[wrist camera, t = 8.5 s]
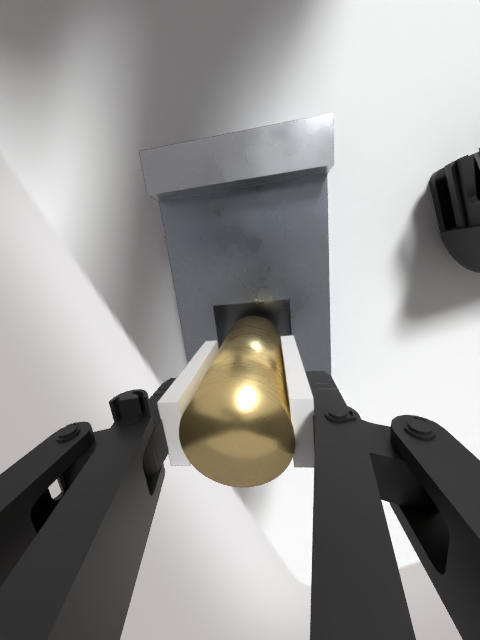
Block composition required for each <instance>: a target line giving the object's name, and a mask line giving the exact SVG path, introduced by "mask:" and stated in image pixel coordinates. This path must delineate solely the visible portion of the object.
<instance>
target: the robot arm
mask: <svg viewBox="0 0 480 640" xmlns="http://www.w3.org/2000/svg"><path fill="white" fill-rule="evenodd" d="M281 349H282V357H283V364H284V372H285V379H286V387H287V394H288V402H289V409H290V417H291V422H292V425H293V428H294V435H295V451H294V455H293V461H294V467H314V504H313V544H312V584H311V623H310V624H311V625H310V640H416V638H415V634H414V630H413V626H412V622H411V618H410V614H409V610H408V606H407V602H406V598H405V594H404V590H403V586H402V582H401V578H400V574H399V570H398V566H397V562H396V558H395V554H394V550H393V546H392V542H391V538H390V534H389V530H388V526H387V522H386V518H385V514H384V510H383V506H382V502H381V499H382V500H385V501H388V502H390V505H391V507H392V509H393V511H394V513H395V514H396V516H397V518H398V520H399V522H400V524H401V526H402V527H403V529H404V531H405V533H406V535H407V537H408V539H409V540H410V542H411V544H412V546H413V548H414V550H415V552H416V553H417V555H418V557H419V559H420V561H421V563H422V565H423V566H424V568H425V570H426V572H427V573H428V576H429V578H430V579H431V581H432V583H433V585H434V587H435V588H436V591H437V592H438V594H439V596H440V598H441V600H442V602H443V604H444V605H445V607H446V609H447V611H448V613H449V615H450V617H451V618H452V620H453V622H454V624H455V626H456V628H457V629H458V631H459V633H460V635H461V637H462V639H463V640H480V460H479V459H477V458H476V457H475V456H474V455H473V454H472V453H471V452H470V451H469V450H467V449H466V448H465V447H464V446H463V445H462V444H461V443H460V442H459V441H458V440H456V439H455V438H454V437H453V436H452V435H451V434H450V433H449V432H448V431H446V430H445V429H444V428H443V427H441V426H440V425H438V424H437V423H435V422H433V421H430V420H428V419H426V418H423V417H419V416H413V415H402V416H397V417H395V418H394V419H393V420H392V423H391V427H389V426H383V425H378V424H373V423H369V422H366V421H364V420H361V418H360V416H359V414H358V412H356V411H355V410H354V409H352V408H351V407H348V406H347V405H346V403H345V401H344V399H343V398H342V396H341V394H340V392H339V390H338V389H337V386H336V384H335V383H334V381H333V379H332V377H331V375H329V374H328V373H326V372H325V371H305V370H304V367H303V364H302V361H301V357H300V354H299V351H298V348H297V345H296V342H295V338H294V335H291V336H281ZM218 350H219V349H218V342H217V340H216V341H205V343H204V344H203V345H202V346H201V348H200V349H199V350H198V351H197V353H196V354H195V355H194V357H193V358H192V359H191V360H190V362H189V363H188V364H187V365H186V367H185V368H184V369H183V371H182V372H181V373H180V374H179V376H178V377H177V378H170V379H169V380H167V381H166V382H164V383H163V384H162V385H161V386H160V387H159V388H158V390H157V391H156V392H155V393H154V394H153V396H151V397H150V399H149V398H148V394H147V392H146V391H145V390H141V389H140V390H131V391H127V392H124V393H121V394H119V395H118V396H116V397H114V398H113V399H112V400H110V401H109V404H110V408H111V412H112V415H113V419H114V423H113V425H112V426H111V428H110V429H106V430H101V431H97V432H93V431H92V427H91V425H90V424H89V423H88V422H78V423H73V424H70V425H67V426H66V427H64V428H62V429H60V430H58V431H57V432H55V433H54V434H52V435H51V436H50V437H48V438H47V439H46V440H44V441H43V442H42V443H41V444H39V445H38V446H37V447H35V448H34V449H33V450H32V451H30V452H29V453H28V454H26V455H25V456H24V457H22V458H21V459H20V460H19V461H17V462H16V463H15V464H13V465H12V466H11V467H9V468H8V469H7V470H6V471H4V472H3V473H2V474H0V640H120V637H121V633H122V630H123V626H124V623H125V619H126V615H127V611H128V608H129V604H130V601H131V597H132V593H133V590H134V586H135V582H136V579H137V574H138V571H139V568H140V564H141V560H142V557H143V553H144V549H145V546H146V542H147V538H148V535H149V531H150V527H151V524H152V520H153V516H154V513H155V509H156V505H157V502H158V498H159V494H160V491H161V487H162V483H163V479H164V476H165V469H164V464H163V462H164V460H165V458H166V456H167V454H168V455H169V459H170V464H171V466H190V464H191V463H190V462H189V460H188V459H187V457H186V456H185V454H184V452H183V450H182V447H181V444H180V440H179V425H180V420H181V417H182V415H183V413H184V411H185V409H186V408H187V406H188V404H189V402H190V400H191V399H192V397H193V395H194V393H195V391H196V390H197V388H198V386H199V384H200V383H201V381H202V379H203V377H204V375H205V374H206V372H207V370H208V368H209V366H210V365H211V363H212V361H213V359H214V358H215V356H216V354H217V352H218ZM56 479H57V480H58V483H59V486H60V488H61V491H62V492H61V493H60V494H59V495H58V496H57V497H56V498H54V499H52V497H51V495H50V492H49V489H48V487H49V486H50V485H51V484H52V483H53V482H54V481H55V480H56Z"/></svg>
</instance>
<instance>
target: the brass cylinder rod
mask: <svg viewBox="0 0 480 640" xmlns="http://www.w3.org/2000/svg"><path fill="white" fill-rule="evenodd" d="M179 440H180V444H181V447H182V450H183V452H184V454H185V456H186V457H187V459H188V460H189V462H190V463H191V464H192V465H193V466H194V467H195V468H196V469H197V470H198V471H199V472H201V473H202V474H203V475H205V476H206V477H208V478H210V479H212V480H213V481H216V482H218V483H221V484H224V485H228V486H234V487H253V486H258V485H262V484H265V483H267V482H270V481H271V480H273V479H275V478H276V477H278V476H279V475H281V474H282V473H283V472H284V471H285V469H286V468H287V467H288V465H289V464H290V462H291V460H292V458H293V455H294V451H295V435H294V428H293V425H292V422H291V417H290V409H289V402H288V394H287V387H286V379H285V372H284V364H283V357H282V349H281V338H280V334H279V331H278V329H277V328H276V326H275V325H274V324H273V323H272V322H271V321H269V320H268V319H266V318H263V317H260V316H247V317H244V318H241V319H240V320H238V321H237V322H236V323H235V324H234V325H233V326H232V327H231V329H230V331H229V333H228V334H227V336H226V338H225V340H224V341H223V343H222V345H221V347H220V349H219V350H218V352H217V354H216V356H215V358H214V359H213V361H212V363H211V365H210V366H209V368H208V370H207V372H206V374H205V375H204V377H203V379H202V381H201V383H200V384H199V386H198V388H197V390H196V391H195V393H194V395H193V397H192V399H191V400H190V402H189V404H188V406H187V408H186V409H185V411H184V413H183V415H182V417H181V420H180V425H179Z"/></svg>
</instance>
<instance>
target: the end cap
mask: <svg viewBox="0 0 480 640" xmlns="http://www.w3.org/2000/svg"><path fill="white" fill-rule="evenodd" d="M430 188H431V192H432V197H433V201H434V206H435V210H436V215H437V220H438V224H439V229H440V231H441V232H440V234H441V237H442V240H443V243H444V245H445V247H446V249H447V250H448V252H449V253H450V255H451V256H452V257H453V258H454V259H455V260H456V261H457V262H458V263H459V264H461V265H462V266H464V267H465V268H467V269H469V270H472V271H474V272H478V273H480V148H479V152H477V153H475V154H472V155H470V156H468V155H467V156H464V157H462V158H460V159H458V160H456V161H454V162H452V163H450V164H448V165H446V166H445V167H444V168H442V169H440V170H439V171H437V172H435V173H434V174H433V175H432V176H431V178H430Z"/></svg>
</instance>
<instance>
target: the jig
mask: <svg viewBox="0 0 480 640" xmlns="http://www.w3.org/2000/svg"><path fill="white" fill-rule="evenodd" d="M139 154H140V159H141V164H142V170H143V175H144V180H145V185H146V191H147V195H148V196H149V197H151V198H153V199H155V200H157V201H159V203H160V209H161V215H162V220H163V226H164V231H165V237H166V243H167V248H168V254H169V259H170V265H171V271H172V276H173V282H174V287H175V293H176V299H177V304H178V310H179V315H180V321H181V327H182V332H183V338H184V343H185V349H186V355H187V360H188V363H189V362H190V360H191V359H192V358H193V357H194V355H195V354H196V353H197V351H198V350H199V349H200V348H201V346H202V345H203V344H204V343H205V341H216V340H217V342H218V349H220V347H221V345H222V343H223V341H224V340H225V338H226V336H227V334H228V333H229V331H230V329H231V327H232V326H233V325H234V324H235V323H236V322H237V321H238V320H240V319H241V318H244V317H247V316H260V317H263V318H266V319H268V320H269V321H271V322H272V323H273V324H274V325H275V326H276V328H277V329H278V331H279V334H280V338H281V336H291V335H294V338H295V342H296V345H297V348H298V351H299V354H300V357H301V361H302V364H303V367H304V370H305V371H325V372H326V373H328V374H329V375H331V345H330V295H329V244H328V193H327V174H328V172H329V171H330V169H331V168H332V167H333V165H334V124H333V113H330V114H324V115H319V116H314V117H309V118H304V119H299V120H294V121H289V122H284V123H279V124H274V125H269V126H264V127H259V128H254V129H248V130H243V131H238V132H233V133H228V134H223V135H218V136H213V137H208V138H203V139H198V140H193V141H188V142H183V143H177V144H172V145H167V146H162V147H157V148H152V149H147V150H142V151H139Z"/></svg>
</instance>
